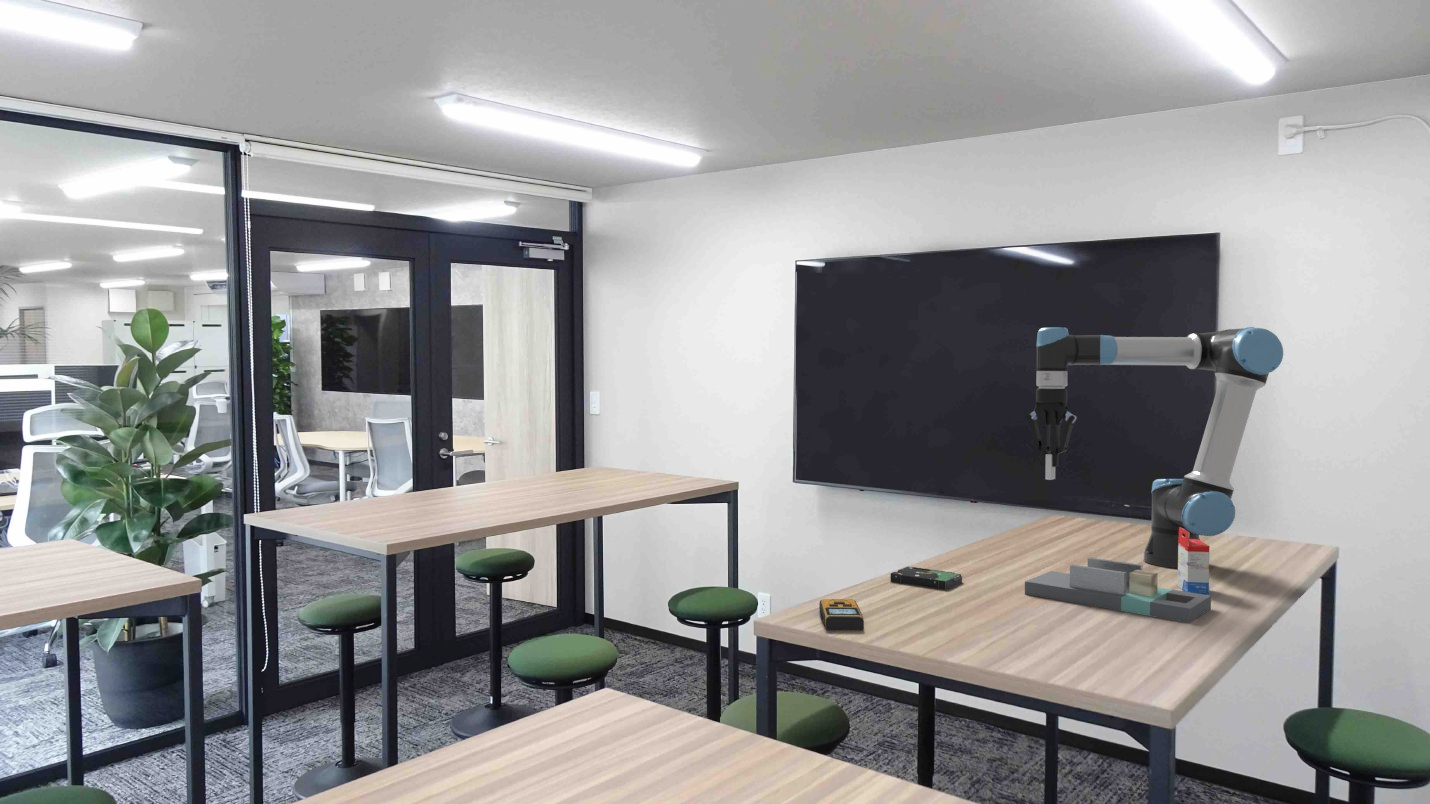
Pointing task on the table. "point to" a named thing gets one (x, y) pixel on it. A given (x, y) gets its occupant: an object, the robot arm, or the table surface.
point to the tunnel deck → (1116, 591)
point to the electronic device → (841, 614)
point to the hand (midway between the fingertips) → (1050, 479)
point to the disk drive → (926, 578)
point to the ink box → (1193, 564)
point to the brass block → (1143, 583)
